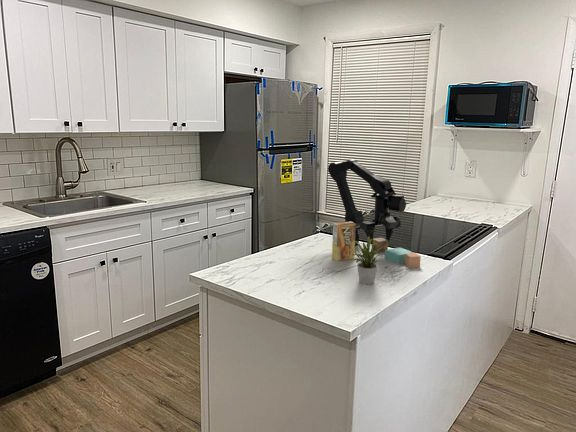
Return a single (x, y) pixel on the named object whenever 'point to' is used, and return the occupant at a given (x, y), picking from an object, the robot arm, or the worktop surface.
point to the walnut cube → (381, 244)
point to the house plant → (366, 262)
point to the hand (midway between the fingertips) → (379, 242)
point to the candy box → (343, 240)
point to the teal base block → (396, 255)
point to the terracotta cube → (412, 259)
